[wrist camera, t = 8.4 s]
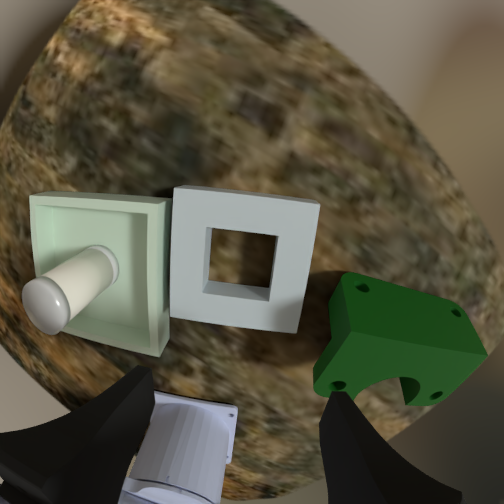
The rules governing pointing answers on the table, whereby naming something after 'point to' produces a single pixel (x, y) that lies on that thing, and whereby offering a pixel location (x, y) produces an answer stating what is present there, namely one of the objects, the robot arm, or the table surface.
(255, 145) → the table surface
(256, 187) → the table surface
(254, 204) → the grey square frame
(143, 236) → the parts tray
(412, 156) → the table surface
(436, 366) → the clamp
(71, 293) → the cylinder
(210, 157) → the table surface
